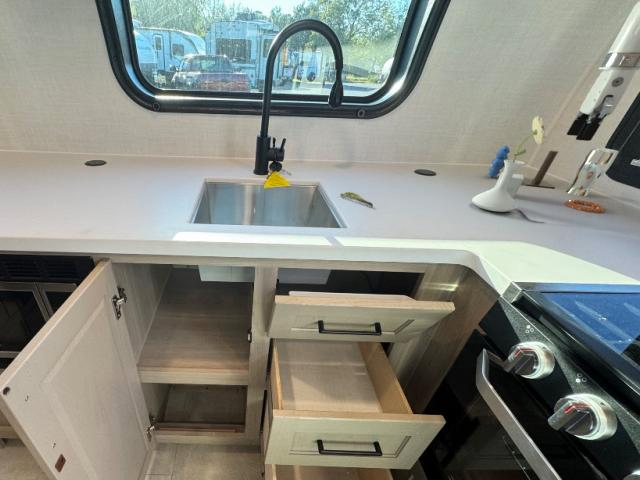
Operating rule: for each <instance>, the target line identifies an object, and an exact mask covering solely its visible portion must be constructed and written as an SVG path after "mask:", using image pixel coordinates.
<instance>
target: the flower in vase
mask: <svg viewBox="0 0 640 480" xmlns="http://www.w3.org/2000/svg"><path fill="white" fill-rule="evenodd" d="M531 130H532V132H531V133H530V134H529V135H528V136H526V138H525V139H523V141H522V142H521V143H520V144H519V145H518V146H517V147H516V152H515V153H514V154H513V157H514V158H513V159H510V160H504V163H505V167H504V169H503V172H504V173H503V175H502V178H501V180H500V182H499V183H498V185H497V186H496V187H495V186H494V187H493V188H491V189H488V190H485V191H483V192H480V193H479V194H477V195H475V196H473V197H472V199H471V201H472V204H473V205H475V206H476V207H478V208H480V209H483V210H487V211H491V212H496V213H497V212H498V213H505V212H512V211H514V210H515V209H516V207H517V206H516V205H517V204H516V202H515V200H514V198H512V197H511V196H510V194H509V193H508V191H507V186H508V183H509V181H510V179H511V177H512V176H513V174H516V172H517V171H518V170H519V169H520V168H521V167H522V166H524V165H526V162H525V161H522V160H517V157H518V156H521V155H525V154H526V153H527V150H526V149H523V150H521V151H519V150H520V148H521V147H522V145H523V144H524V143H525V142H526V141H527V140H528V139H529V138H531V136H533V138H534V141H535V143H536V144H537V146H539V147H541V146H542V145H544V143H545V142H544V140H547V139H546V138H547V137H546V134H545V130H546V125H545V124H544V122H543V117H540V116H539V115H536V116H535V117H534V118H533V119H532V128H531Z"/></svg>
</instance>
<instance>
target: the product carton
mask: <svg viewBox="0 0 640 480" xmlns="http://www.w3.org/2000/svg"><path fill="white" fill-rule="evenodd" d="M503 173H504V171H502V172H500V175H499V177H498V180H496V183H495V184H494V185H495V186H494V187H496V186H497V185H498V183H499V182H500V180H501V178H502V175H503ZM524 179H525V178H524V174H522V173H521V174H520V173H514V174H513V176H512V177H511V179H510V181H509V183H508V186H507V191H508V193H509V194H510V196H511V197H512V198H513V199H514V198H515V196H516V195H517V193H518V191H519V189H520V187H521V186H522V185H521V184H522V182H523V180H524Z"/></svg>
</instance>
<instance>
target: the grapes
mask: <svg viewBox="0 0 640 480" xmlns="http://www.w3.org/2000/svg"><path fill="white" fill-rule="evenodd" d="M498 150H499V151H498V152H496V153H495V156H496V157H495V158H493V159H492V160H491V165H492V166H491V167H489V168H488V177H489V178H495V177H497V176H498V175H499V174H501V170H502V169H503V168H505V163H504V160H511V159H510V158H509V157H508V154H509V153H511V150H510V148H509V146H508V145H503V146H501V147H500V148H499V149H498Z"/></svg>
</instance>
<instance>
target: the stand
mask: <svg viewBox="0 0 640 480" xmlns="http://www.w3.org/2000/svg"><path fill="white" fill-rule="evenodd" d="M558 153H559V151H558V150H551V149H550V150H549V151H548V153H547V155H546V157H545V159H544V161H543V162H542V164H541V165H540V167H539V169H538V171H537V173H536V175H535V176H534V178H533V179H531V178H524V180H523V182H522V184H521V185H520V186H523V187H532V188H542V189H548V190H549V189H551V190H555V189H556V186H554V185H553V184H551V183H549V182H548V181H546V180H544V177H545V176H546V175H547V172H548V171H549V170H550V168H551V165H552V164H553V162H554V161H555V160H556V159H555V158H556V157H557V155H558Z"/></svg>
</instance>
